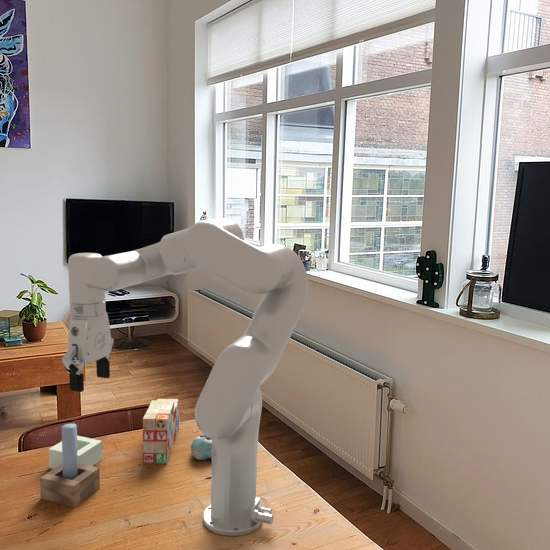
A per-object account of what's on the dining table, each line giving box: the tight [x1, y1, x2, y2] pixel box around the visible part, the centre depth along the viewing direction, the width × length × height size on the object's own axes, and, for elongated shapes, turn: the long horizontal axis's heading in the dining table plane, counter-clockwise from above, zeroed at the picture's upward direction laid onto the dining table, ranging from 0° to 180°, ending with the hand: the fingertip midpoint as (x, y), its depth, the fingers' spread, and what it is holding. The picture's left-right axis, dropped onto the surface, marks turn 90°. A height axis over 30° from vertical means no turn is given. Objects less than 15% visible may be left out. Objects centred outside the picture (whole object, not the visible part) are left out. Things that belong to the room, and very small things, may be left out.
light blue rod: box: [61, 423, 78, 480], centre depth 134 cm, size 3×3×16 cm
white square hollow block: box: [48, 435, 104, 470], centre depth 148 cm, size 9×9×5 cm
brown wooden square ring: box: [39, 463, 101, 508], centre depth 135 cm, size 9×9×5 cm
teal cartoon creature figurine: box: [190, 434, 212, 461], centre depth 156 cm, size 11×7×12 cm
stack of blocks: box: [142, 398, 180, 465], centre depth 160 cm, size 21×6×12 cm, turn 1°
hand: (90, 383), depth 134 cm, fingers open, 9 cm apart
